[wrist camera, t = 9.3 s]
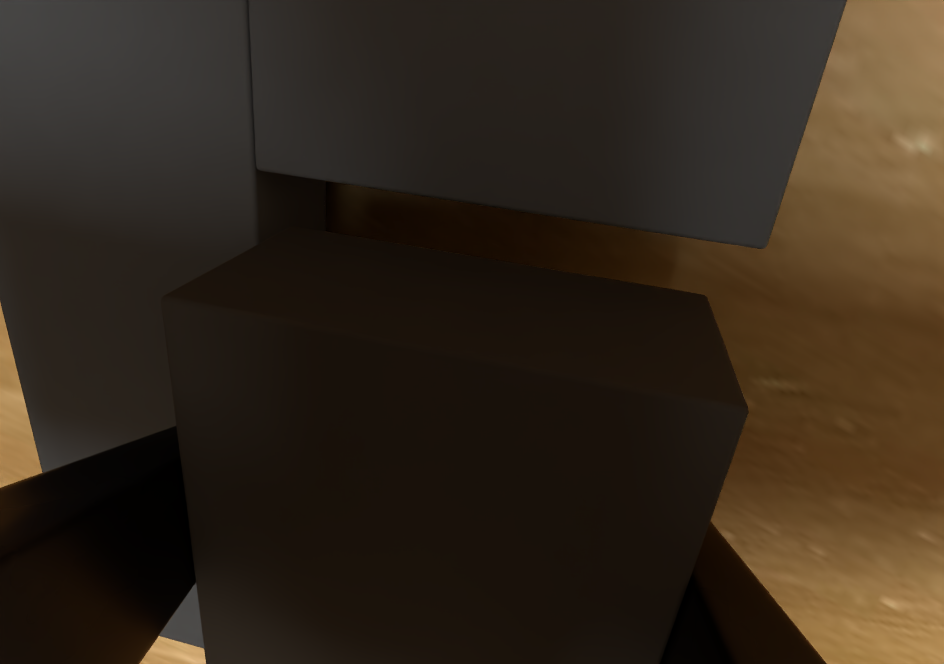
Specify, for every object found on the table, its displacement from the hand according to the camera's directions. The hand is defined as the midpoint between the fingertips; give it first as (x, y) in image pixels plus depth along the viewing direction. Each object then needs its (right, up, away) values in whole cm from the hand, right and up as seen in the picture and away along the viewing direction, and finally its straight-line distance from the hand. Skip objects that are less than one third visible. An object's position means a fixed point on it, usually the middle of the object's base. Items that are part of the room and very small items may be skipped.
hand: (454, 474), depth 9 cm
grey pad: (-2, +2, +3) cm, 4 cm away
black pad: (0, 0, +1) cm, 1 cm away
